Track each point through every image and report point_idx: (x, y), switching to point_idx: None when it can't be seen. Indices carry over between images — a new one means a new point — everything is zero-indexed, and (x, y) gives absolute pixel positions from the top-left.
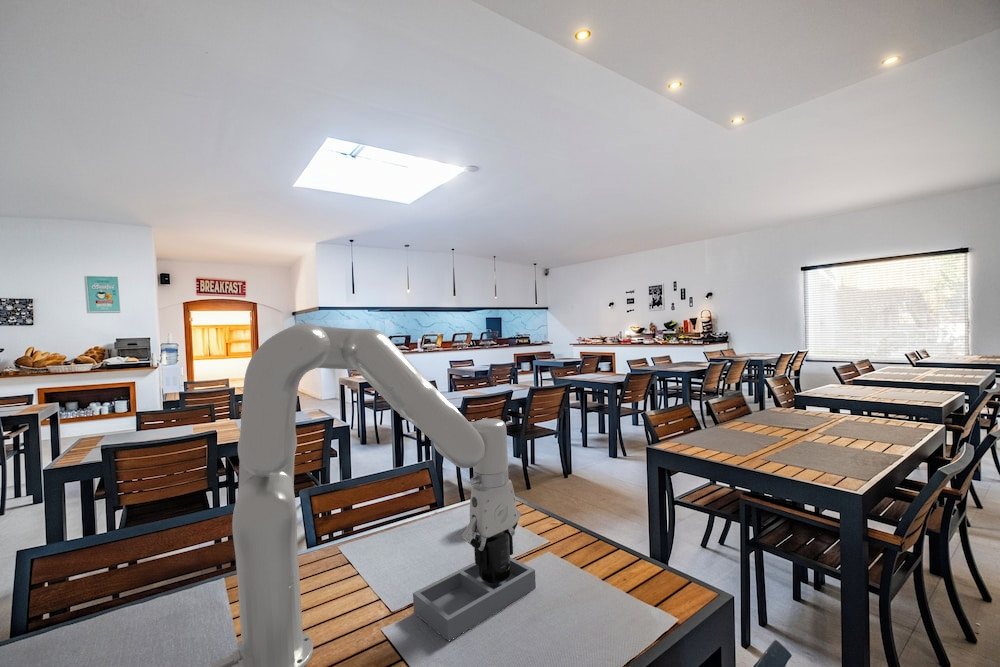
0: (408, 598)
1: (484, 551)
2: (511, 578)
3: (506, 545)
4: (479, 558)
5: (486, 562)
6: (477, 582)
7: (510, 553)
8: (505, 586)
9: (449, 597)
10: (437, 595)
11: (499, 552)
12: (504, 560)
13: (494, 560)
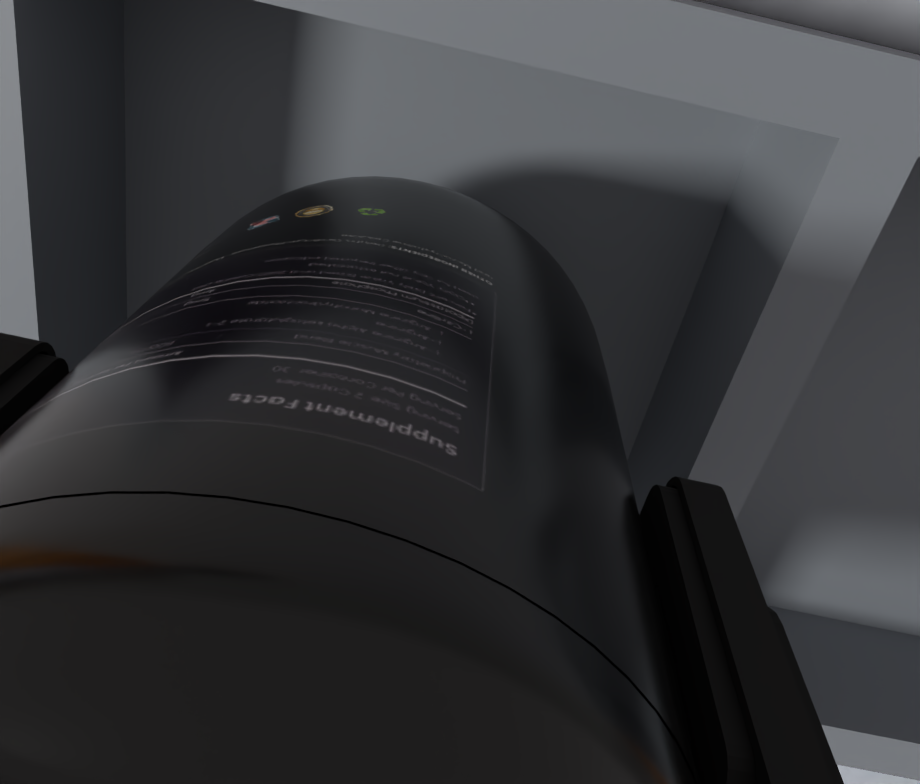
0: (881, 774)
1: (814, 771)
2: (198, 227)
3: (187, 465)
4: (807, 695)
5: (699, 537)
6: (749, 440)
7: (44, 365)
8: (676, 9)
9: (829, 562)
10: (894, 651)
11: (501, 470)
12: (394, 292)
13: (596, 443)
